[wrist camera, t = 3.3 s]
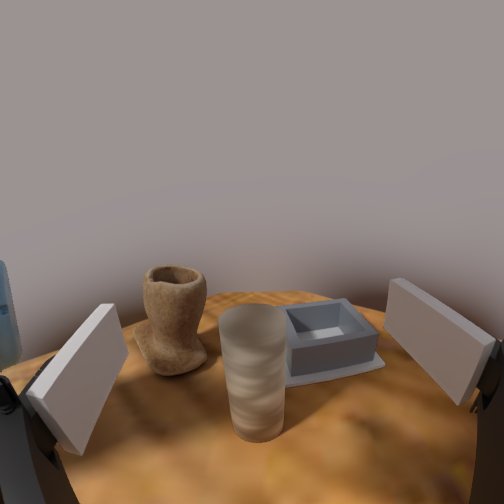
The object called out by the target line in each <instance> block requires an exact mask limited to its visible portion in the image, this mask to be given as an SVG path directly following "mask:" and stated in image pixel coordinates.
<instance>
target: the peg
mask: <svg viewBox="0 0 504 504" xmlns="http://www.w3.org/2000/svg"><path fill="white" fill-rule="evenodd" d="M218 325H219V333H220V341H221V349H222V357H223V364H224V371H225V379H226V385H227V392H228V399H229V405H230V412H231V418H232V424H233V429H234V432H235V433H236V434H237V436H239V437H240V438H241V439H243V440H245V441H248V442H253V443H262V442H267V441H270V440H272V439H274V438H275V437H277V436H278V435H279V434H280V433H281V431H282V429H283V426H284V403H285V370H286V315H285V313H284V312H283V311H282V310H281V309H279V308H277V307H274V306H271V305H267V304H243V305H238V306H235V307H232V308H230V309H227V310H226V311H224V312H223V313H222V314H221V315H220V316H219V318H218Z"/></svg>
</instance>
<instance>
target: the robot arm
mask: <svg viewBox="0 0 504 504" xmlns="http://www.w3.org/2000/svg"><path fill="white" fill-rule="evenodd" d="M383 328H384V329H385V330H386V331H387V332H388V333H389V334H390V335H391V336H392V337H393V338H394V339H395V340H396V341H397V342H398V343H399V344H400V345H401V346H402V347H403V348H404V349H405V350H406V351H407V353H408V354H409V355H410V356H411V357H412V358H413V359H414V360H415V361H416V362H417V363H418V364H419V365H420V366H421V367H422V368H423V369H424V370H425V371H426V372H427V373H428V374H429V375H430V377H431V378H432V379H433V380H434V381H435V382H436V383H437V384H438V385H439V386H440V387H441V388H442V389H443V391H444V392H445V393H446V394H447V395H448V396H449V397H450V398H451V399H452V400H453V401H454V403H455V404H456V405H457V406H459V405H461V404H462V403H464V402H466V401H467V400H469V399H470V398H471V396H472V394H473V392H474V390H475V388H476V387H477V388H478V389H479V390H480V392H479V394H478V396H477V398H476V400H475V402H474V403H473V405H472V407H471V409H470V413H472V412H473V410H474V408H475V407H476V406H477V410H476V411H475V413H478V425H477V449H476V461H475V470H474V477H473V484H472V490H471V495H470V500H469V504H504V340H503V341H502V342H500V341H499V340H497V339H496V338H495V337H493V336H492V335H490V334H489V333H488V332H486V331H485V330H483V329H482V328H479V326H477V325H476V324H473V322H471V321H470V320H469V319H467V318H466V317H463V316H462V315H460V314H459V313H457V312H456V311H454V310H453V309H451V308H449V307H448V306H446V305H445V304H443V303H441V302H440V301H439V300H437V299H436V298H434V297H432V296H431V295H429V294H428V293H426V292H424V291H423V290H421V289H420V288H418V287H416V286H415V285H413V284H412V283H410V282H408V281H407V280H405V279H403V278H397V279H391V280H390V285H389V294H388V302H387V309H386V315H385V321H384V327H383ZM128 354H129V352H128V349H127V346H126V343H125V340H124V336H123V333H122V329H121V326H120V322H119V319H118V315H117V311H116V307H115V304H100V306H99V307H98V308H97V309H96V310H95V311H94V312H93V313H92V314H91V315H90V316H89V318H88V319H87V320H86V321H85V322H84V323H83V324H82V325H81V327H80V328H79V329H78V330H77V331H76V332H75V333H74V334H73V336H72V337H71V338H70V339H69V340H68V342H67V343H66V344H65V345H64V346H63V347H62V348H61V350H60V351H59V352H58V353H57V354H56V355H54V356H53V357H51V358H50V359H48V360H47V361H46V362H45V363H44V364H43V365H42V367H41V368H40V370H38V371H37V373H36V374H35V377H34V376H33V378H32V379H31V380H30V382H29V383H28V384H27V385H26V387H25V388H24V389H23V391H22V392H21V393H20V394H19V396H18V395H17V393H16V391H15V390H14V388H13V386H12V384H11V383H10V381H9V379H8V378H7V377H6V376H2V375H0V504H80V503H79V501H78V499H77V497H76V495H75V493H74V491H73V489H72V487H71V484H70V482H69V480H68V477H67V475H66V472H65V470H64V467H63V465H62V462H61V460H60V457H59V454H58V452H57V451H56V449H55V448H54V446H55V444H56V442H58V443H59V444H60V445H61V447H62V448H63V449H64V450H65V451H66V452H70V453H73V454H77V455H80V456H82V455H83V453H84V450H85V448H86V445H87V443H88V441H89V438H90V436H91V433H92V431H93V429H94V426H95V424H96V422H97V419H98V417H99V415H100V413H101V410H102V408H103V406H104V404H105V402H106V399H107V397H108V395H109V393H110V391H111V389H112V387H113V384H114V382H115V380H116V378H117V376H118V374H119V372H120V370H121V368H122V366H123V364H124V362H125V360H126V358H127V356H128ZM21 355H22V345H21V340H20V334H19V330H18V325H17V320H16V315H15V310H14V305H13V300H12V294H11V289H10V284H9V279H8V274H7V269H6V266H5V264H4V262H3V261H1V260H0V372H2V370H4V369H6V368H9V367H11V366H13V365H16V364H17V363H18V362H19V361H20V359H21Z"/></svg>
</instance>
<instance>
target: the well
mask: <svg viewBox="0 0 504 504" xmlns="http://www.w3.org/2000/svg"><path fill="white" fill-rule="evenodd" d="M275 307H277V308H279V309H281V310H282V311H283V312H284V313H285V315H286V370H285V388H288V387H295V386H301V385H307V384H313V383H318V382H324V381H329V380H334V379H338V378H343V377H347V376H352V375H356V374H360V373H364V372H368V371H372V370H376V369H379V368H383V367H385V365H386V364H385V362H384V361H383V360H382V359H381V358H380V356H379V355H378V354H377V353H376V351H375V350H376V346H377V341H378V336H379V333H378V332H377V331H376V330H375V329H374V328H373V327H372V326H371V325H370V324H369V322H368V321H367V320H366V319H365V318H364V317H363V316H362V315H361V314H360V313H359V312H358V311H357V310H356V309H355V308H354V307H353V306H352V305H351V304H350V303H349V302H348V301H347V300H346V299H345V298H342V299H334V300H327V301H319V302H310V303H302V304H293V305H283V306H275Z"/></svg>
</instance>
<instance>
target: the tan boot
mask: <svg viewBox="0 0 504 504" xmlns="http://www.w3.org/2000/svg"><path fill="white" fill-rule="evenodd" d="M206 295H207V288H206V280H205V278H204V276H203V274H202V273H200V272H199V271H197V270H195V269H192V268H189V267H185V266H179V265H159V266H155V267H153V268H151V269H150V270H148V271H147V272H146V274H145V276H144V279H143V296H144V306H145V310H146V313H147V316H148V318H149V321H148V322H145V323H142V324H140V325H139V326H137V327H136V328H135V329H134V331H133V333H134V336H135V339H136V342H137V344H138V346H139V348H140V350H141V352H142V354H143V356H144V358H145V360H146V361H147V363H148V365H149V366H150V367H151V368H152V369H153V370H154V371H155V372H156V373H157V374H160V375H163V376H172V375H178V374H182V373H186V372H189V371H191V370H194V369H196V368H198V367H199V366H200V365H201V364H202V363H204V362H205V361H206V360H207V353H206V351H205V349H204V347H203V345H202V343H201V342H200V341H199V339H198V338H197V329H198V326H199V322H200V319H201V316H202V313H203V310H204V306H205V302H206Z"/></svg>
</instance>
